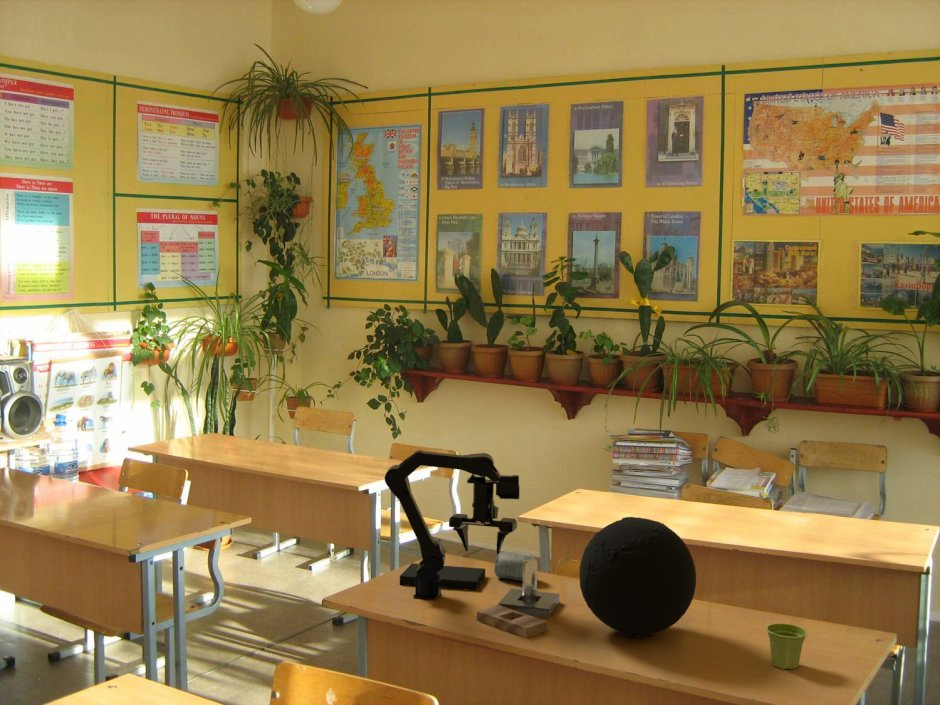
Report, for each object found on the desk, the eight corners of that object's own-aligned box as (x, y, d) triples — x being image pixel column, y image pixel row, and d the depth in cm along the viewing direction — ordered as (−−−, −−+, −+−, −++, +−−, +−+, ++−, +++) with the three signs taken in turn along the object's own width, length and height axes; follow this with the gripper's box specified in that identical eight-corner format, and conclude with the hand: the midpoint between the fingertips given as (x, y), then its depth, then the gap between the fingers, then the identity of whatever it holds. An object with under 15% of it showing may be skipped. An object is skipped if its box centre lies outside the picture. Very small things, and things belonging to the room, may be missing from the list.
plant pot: (812, 665, 246) (813, 629, 245) (795, 676, 239) (796, 639, 238) (775, 655, 252) (776, 620, 251) (757, 665, 245) (759, 629, 244)
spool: (484, 569, 310) (499, 539, 311) (496, 576, 317) (511, 547, 319) (520, 588, 302) (535, 558, 304) (532, 595, 310) (547, 565, 312)
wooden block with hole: (476, 620, 274) (476, 610, 274) (497, 613, 279) (497, 604, 279) (525, 637, 261) (526, 628, 261) (546, 630, 266) (547, 621, 266)
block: (498, 612, 280) (498, 603, 280) (511, 597, 294) (511, 588, 294) (548, 617, 276) (548, 608, 276) (559, 602, 290) (559, 593, 290)
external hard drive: (411, 572, 318) (412, 563, 318) (485, 578, 313) (485, 568, 313) (399, 585, 304) (399, 576, 304) (476, 591, 300) (476, 581, 299)
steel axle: (524, 609, 283) (525, 563, 282) (520, 605, 287) (521, 559, 286) (538, 609, 284) (539, 563, 283) (534, 604, 288) (535, 559, 287)
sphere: (697, 621, 276) (701, 511, 274) (690, 660, 247) (694, 538, 245) (588, 609, 284) (590, 502, 282) (569, 646, 255) (572, 527, 253)
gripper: (522, 495, 296) (521, 548, 297) (460, 490, 302) (459, 542, 303) (512, 503, 285) (511, 558, 287) (448, 498, 291) (447, 552, 292)
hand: (482, 552), depth 292 cm, fingers open, 9 cm apart
